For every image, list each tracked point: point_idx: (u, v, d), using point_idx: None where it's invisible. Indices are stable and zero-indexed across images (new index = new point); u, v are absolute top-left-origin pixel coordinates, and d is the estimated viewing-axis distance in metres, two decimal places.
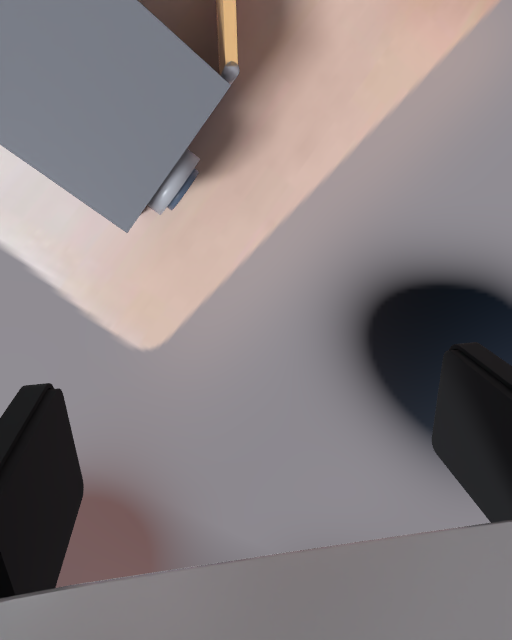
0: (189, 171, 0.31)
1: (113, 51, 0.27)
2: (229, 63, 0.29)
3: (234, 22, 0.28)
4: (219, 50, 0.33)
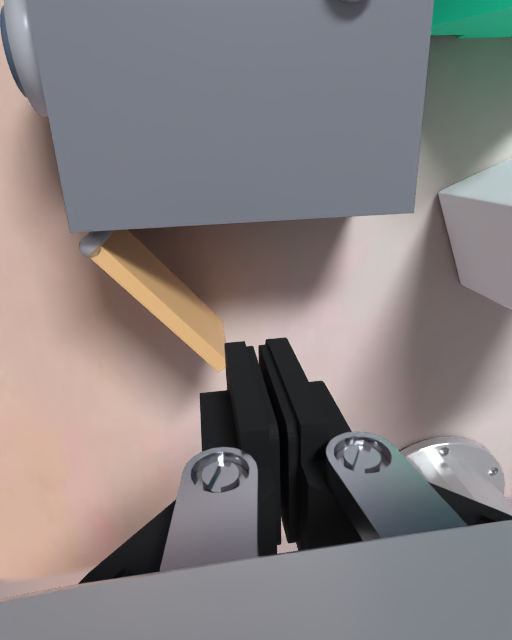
0: (25, 84, 0.19)
1: (216, 150, 0.19)
2: (98, 250, 0.21)
3: (129, 289, 0.22)
4: (139, 248, 0.26)
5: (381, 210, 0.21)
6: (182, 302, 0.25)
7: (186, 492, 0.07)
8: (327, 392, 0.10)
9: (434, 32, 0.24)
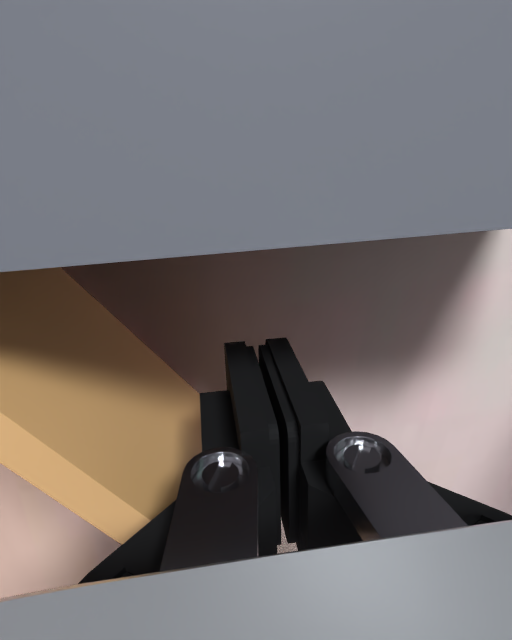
0: None
1: None
2: None
3: None
4: (65, 297, 0.12)
5: None
6: (154, 431, 0.11)
7: (186, 492, 0.07)
8: (327, 392, 0.10)
9: None
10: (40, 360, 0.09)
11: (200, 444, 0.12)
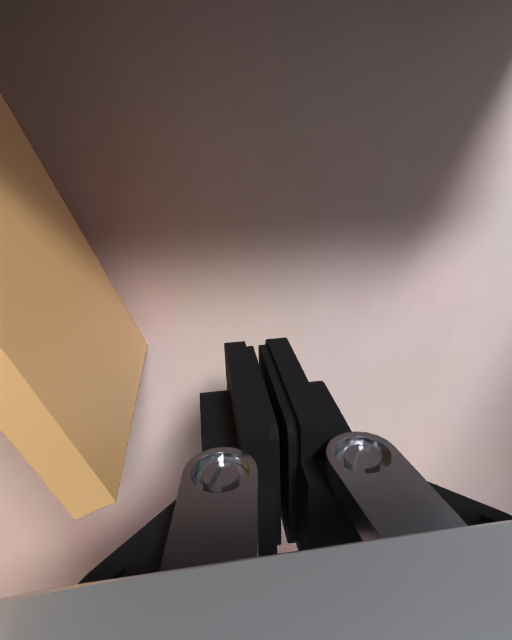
0: None
1: None
2: None
3: None
4: None
5: None
6: (43, 276, 0.09)
7: (186, 492, 0.07)
8: (327, 392, 0.10)
9: None
10: None
11: (97, 325, 0.10)
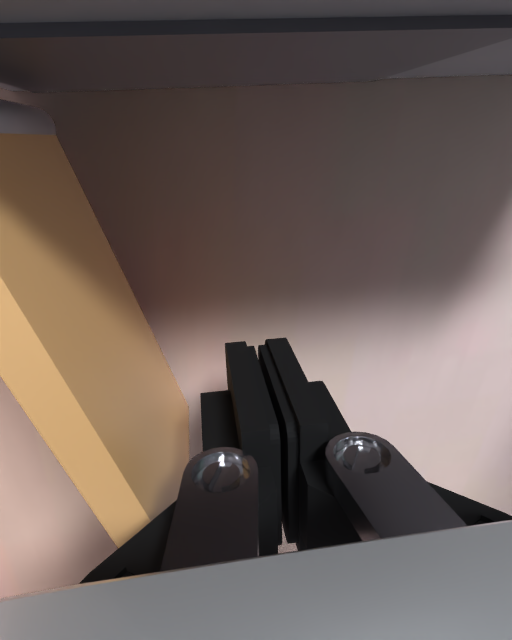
0: None
1: None
2: None
3: None
4: (74, 204, 0.11)
5: None
6: (127, 374, 0.10)
7: (187, 492, 0.07)
8: (326, 392, 0.10)
9: None
10: (45, 251, 0.08)
11: (160, 406, 0.12)
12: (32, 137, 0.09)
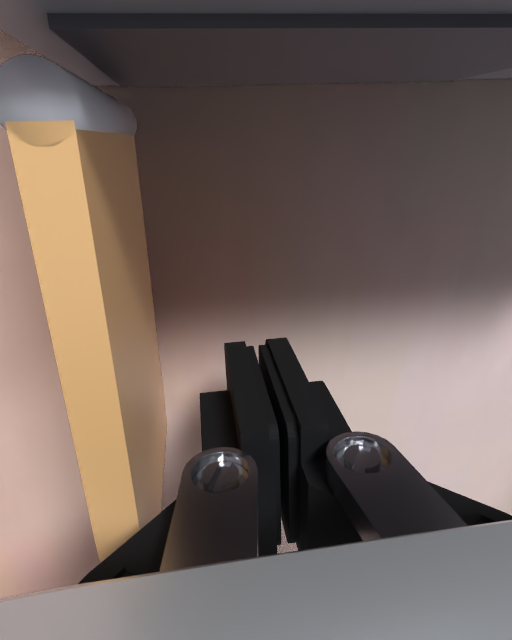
0: None
1: None
2: (55, 135, 0.05)
3: (55, 311, 0.06)
4: (136, 207, 0.11)
5: None
6: (144, 388, 0.10)
7: (186, 492, 0.07)
8: (327, 392, 0.10)
9: None
10: (120, 256, 0.08)
11: (155, 422, 0.11)
12: (124, 137, 0.10)
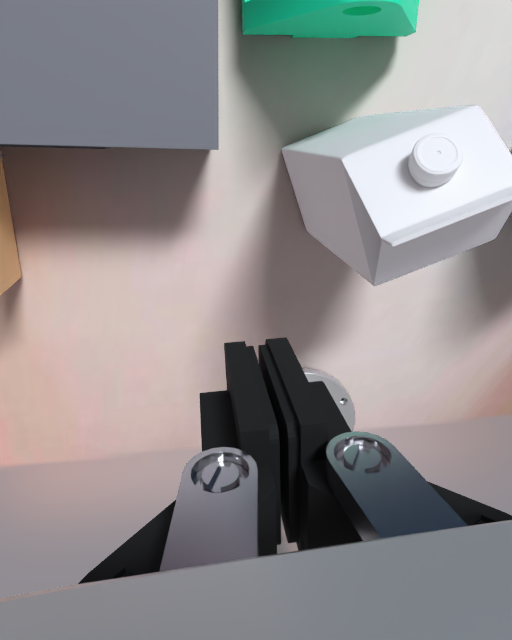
0: None
1: (47, 83, 0.24)
2: None
3: None
4: None
5: (191, 145, 0.26)
6: None
7: (186, 492, 0.07)
8: (327, 392, 0.10)
9: (263, 32, 0.30)
10: None
11: (4, 262, 0.32)
12: None
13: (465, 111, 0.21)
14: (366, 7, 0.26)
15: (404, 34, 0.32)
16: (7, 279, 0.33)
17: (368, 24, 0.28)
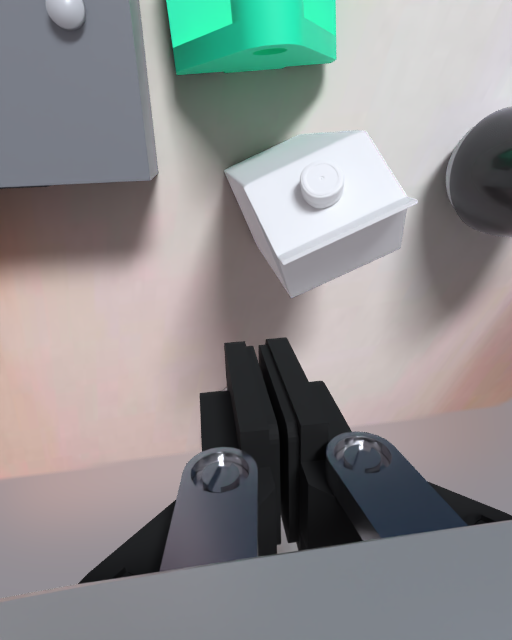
0: None
1: None
2: None
3: None
4: None
5: (124, 178, 0.29)
6: None
7: (186, 492, 0.07)
8: (327, 392, 0.10)
9: (195, 72, 0.33)
10: None
11: None
12: None
13: (353, 136, 0.23)
14: None
15: (327, 62, 0.34)
16: None
17: (286, 59, 0.31)
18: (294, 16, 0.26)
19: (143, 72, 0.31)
